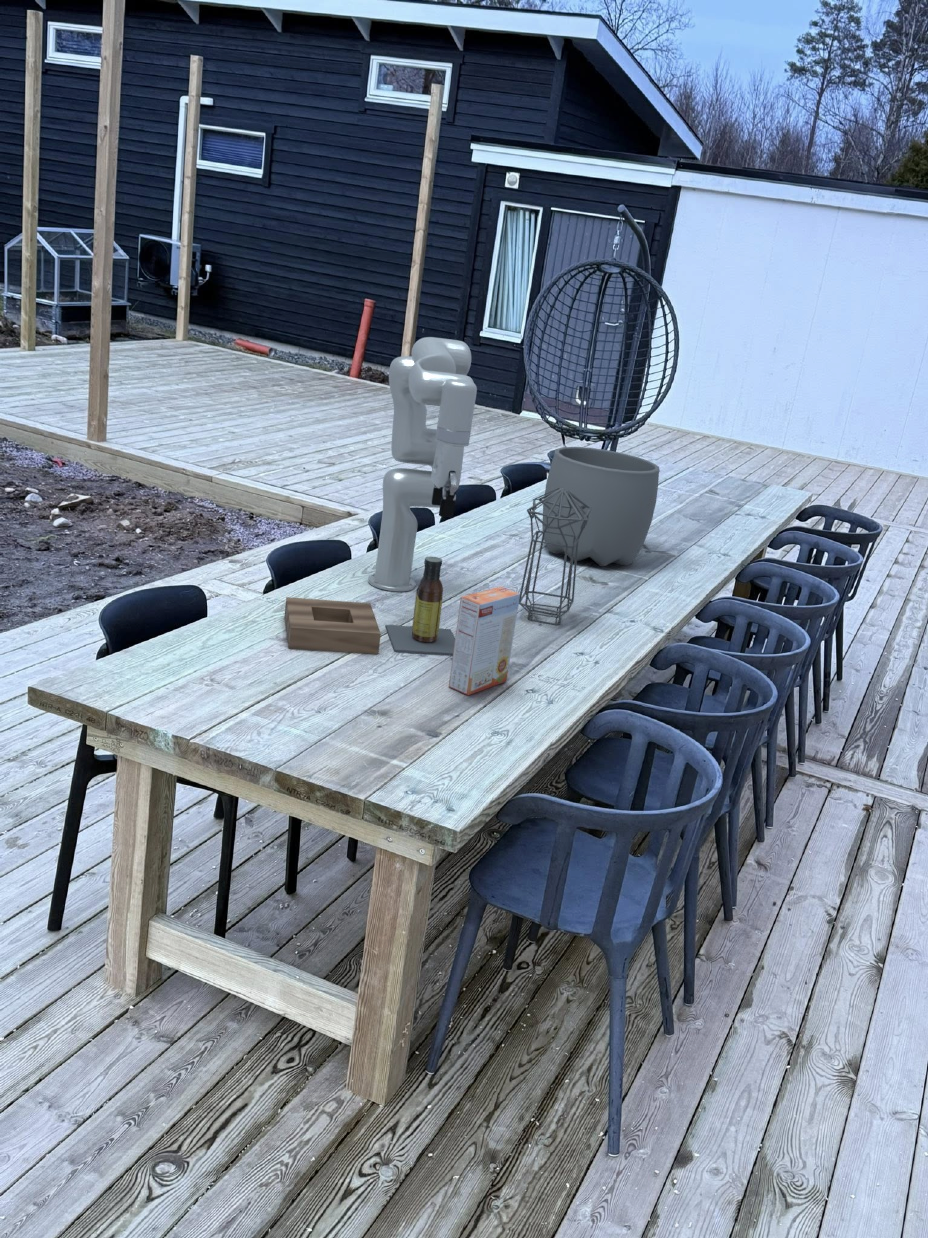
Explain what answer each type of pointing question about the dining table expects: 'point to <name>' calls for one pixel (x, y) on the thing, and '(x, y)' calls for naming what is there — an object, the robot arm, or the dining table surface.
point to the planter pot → (602, 503)
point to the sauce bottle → (428, 602)
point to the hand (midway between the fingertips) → (441, 510)
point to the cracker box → (483, 640)
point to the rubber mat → (407, 644)
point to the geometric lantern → (577, 510)
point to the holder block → (331, 626)
